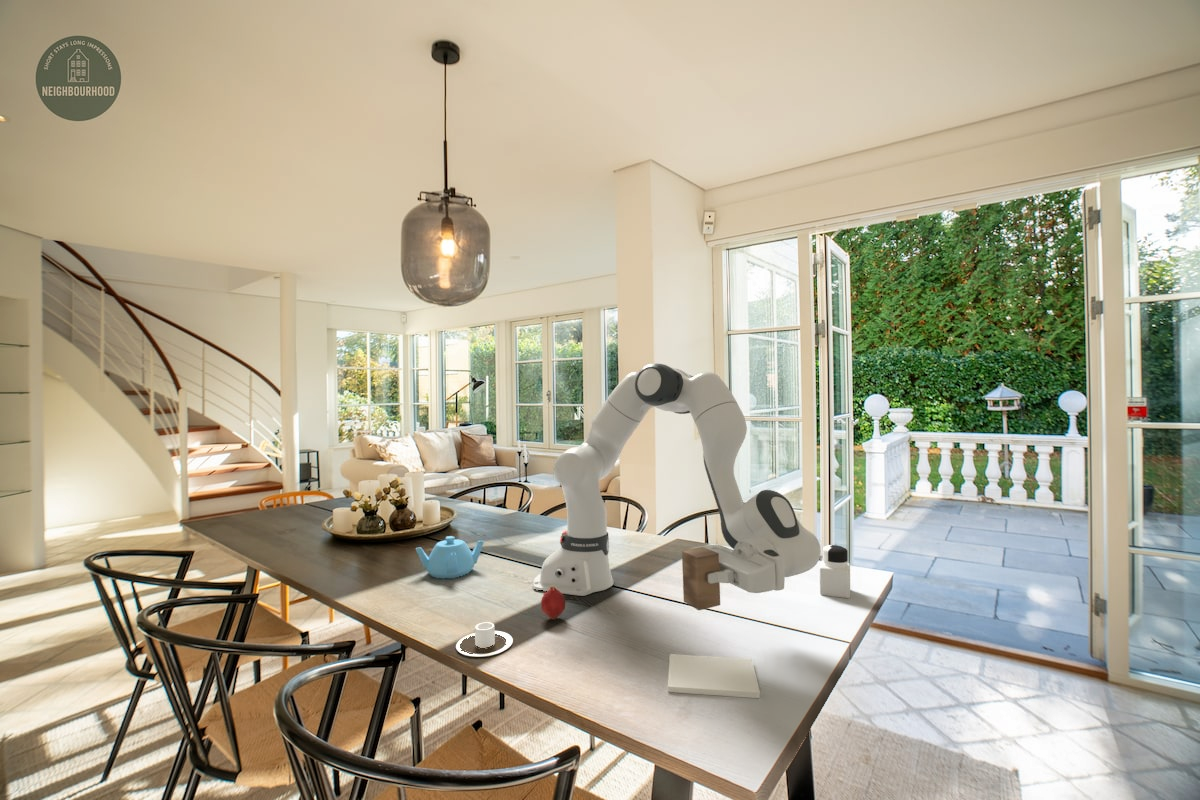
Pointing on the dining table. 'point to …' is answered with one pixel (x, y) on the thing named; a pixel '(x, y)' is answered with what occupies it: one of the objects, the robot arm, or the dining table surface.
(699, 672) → the serving plate
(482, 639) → the candle holder
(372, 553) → the dining table surface
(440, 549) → the teapot
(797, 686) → the dining table surface
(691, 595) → the walnut block
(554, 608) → the onion
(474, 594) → the dining table surface
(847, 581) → the medicine bottle
